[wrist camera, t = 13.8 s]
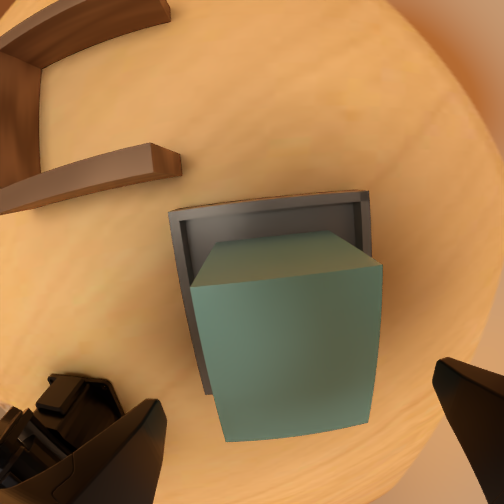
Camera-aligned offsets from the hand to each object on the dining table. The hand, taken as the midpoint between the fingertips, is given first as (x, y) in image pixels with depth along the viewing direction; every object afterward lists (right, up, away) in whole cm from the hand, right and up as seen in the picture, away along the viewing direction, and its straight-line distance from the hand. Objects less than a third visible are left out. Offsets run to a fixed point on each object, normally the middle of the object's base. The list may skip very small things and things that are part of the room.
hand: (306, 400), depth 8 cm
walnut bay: (-12, +14, +7) cm, 19 cm away
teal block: (0, +2, +8) cm, 9 cm away
